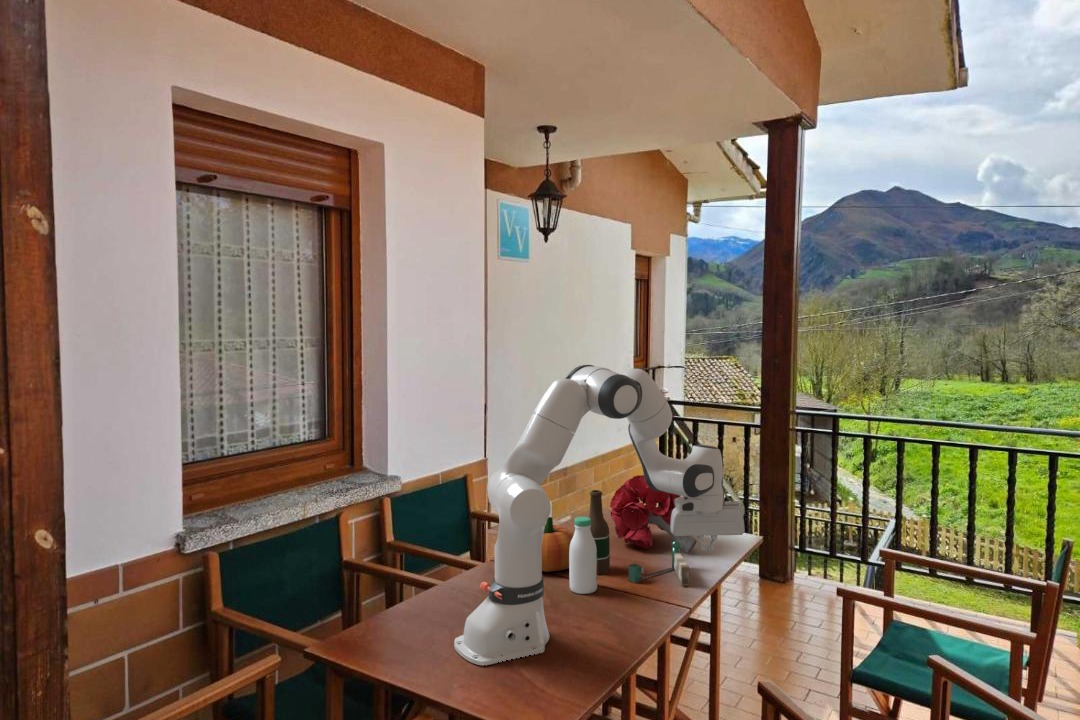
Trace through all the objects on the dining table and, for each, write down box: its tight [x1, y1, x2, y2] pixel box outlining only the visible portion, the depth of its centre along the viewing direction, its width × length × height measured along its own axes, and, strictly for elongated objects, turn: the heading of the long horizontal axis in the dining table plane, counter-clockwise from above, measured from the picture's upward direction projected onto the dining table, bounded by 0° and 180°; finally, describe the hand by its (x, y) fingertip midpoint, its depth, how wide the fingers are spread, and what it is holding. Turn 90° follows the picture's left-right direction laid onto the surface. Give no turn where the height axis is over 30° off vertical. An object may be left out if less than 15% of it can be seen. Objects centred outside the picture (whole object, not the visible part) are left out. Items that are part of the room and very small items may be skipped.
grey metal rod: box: [641, 567, 675, 580], centre depth 198 cm, size 14×1×1 cm, turn 124°
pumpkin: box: [541, 516, 574, 573], centre depth 206 cm, size 19×19×15 cm
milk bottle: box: [568, 516, 598, 595], centre depth 187 cm, size 8×8×20 cm
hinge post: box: [671, 540, 681, 569], centre depth 202 cm, size 3×3×9 cm
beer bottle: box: [588, 489, 611, 575], centre depth 201 cm, size 8×8×24 cm
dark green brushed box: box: [628, 563, 645, 584], centre depth 193 cm, size 3×3×4 cm
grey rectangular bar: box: [674, 552, 690, 586], centre depth 194 cm, size 12×2×5 cm, turn 179°
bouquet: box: [609, 474, 697, 554], centre depth 222 cm, size 22×24×30 cm
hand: (707, 550), depth 190 cm, fingers closed
